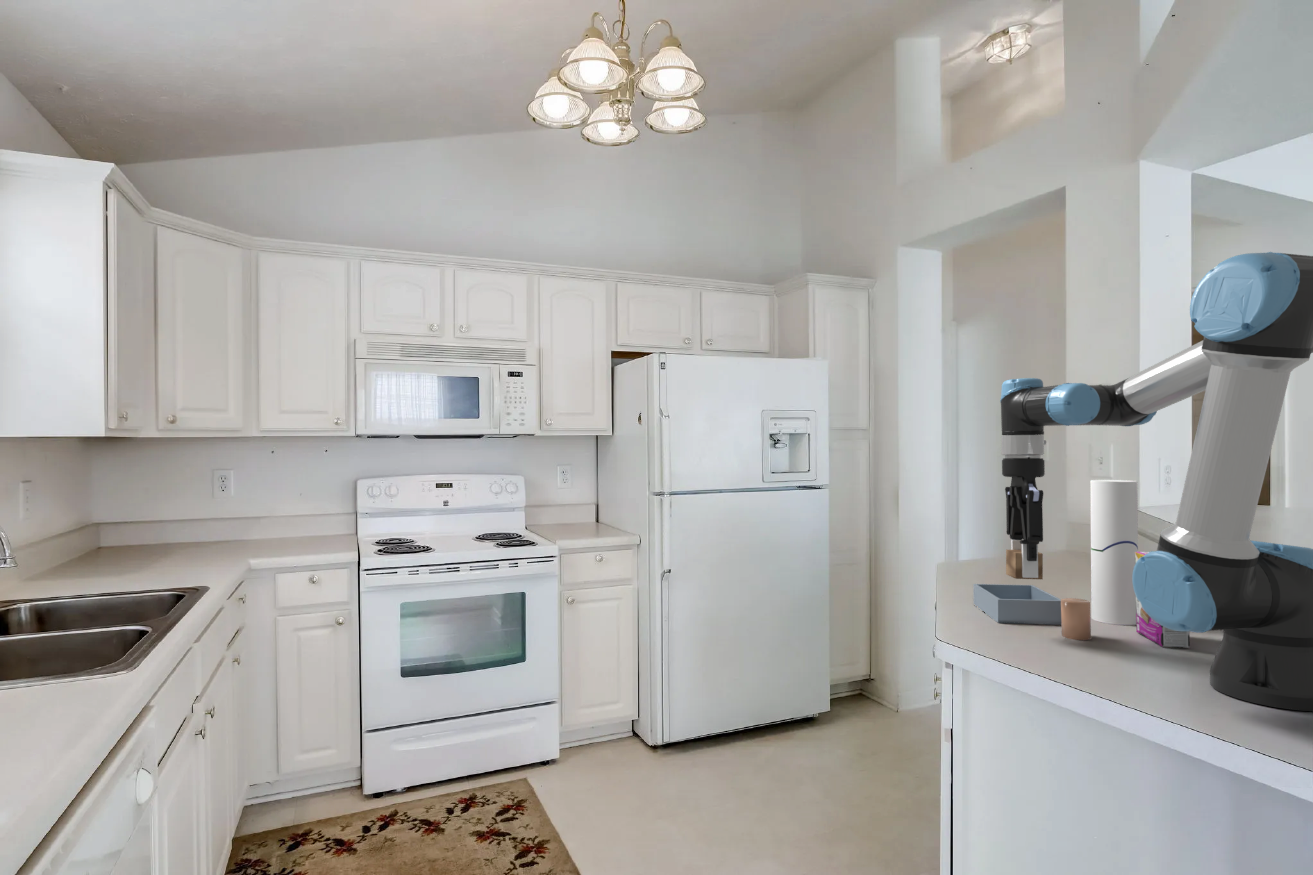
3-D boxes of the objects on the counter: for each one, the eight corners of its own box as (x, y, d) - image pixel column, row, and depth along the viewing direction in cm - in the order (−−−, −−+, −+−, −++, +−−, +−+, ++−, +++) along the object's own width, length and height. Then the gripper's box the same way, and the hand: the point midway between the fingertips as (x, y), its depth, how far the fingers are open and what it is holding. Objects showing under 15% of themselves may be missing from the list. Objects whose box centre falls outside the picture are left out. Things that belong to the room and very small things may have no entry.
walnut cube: (1042, 579, 140) (1042, 553, 140) (1015, 578, 140) (1015, 552, 140) (1032, 575, 145) (1032, 550, 145) (1006, 574, 145) (1006, 549, 145)
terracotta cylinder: (1096, 640, 139) (1095, 603, 139) (1068, 640, 140) (1067, 604, 140) (1083, 632, 144) (1082, 598, 144) (1057, 632, 145) (1056, 598, 145)
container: (1148, 625, 151) (1146, 481, 151) (1106, 625, 151) (1105, 481, 151) (1122, 615, 159) (1121, 479, 160) (1083, 615, 160) (1082, 479, 160)
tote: (1064, 624, 151) (1064, 601, 151) (998, 623, 153) (998, 599, 153) (1032, 606, 168) (1032, 585, 168) (973, 605, 170) (973, 583, 170)
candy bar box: (1134, 632, 145) (1133, 550, 145) (1161, 633, 144) (1161, 551, 144) (1161, 648, 134) (1160, 559, 134) (1191, 649, 133) (1190, 560, 133)
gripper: (1062, 457, 133) (1064, 583, 133) (1025, 456, 151) (1027, 567, 151) (1019, 457, 134) (1021, 582, 134) (988, 456, 152) (989, 567, 152)
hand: (1024, 574), depth 142 cm, fingers closed on walnut cube, 5 cm apart
